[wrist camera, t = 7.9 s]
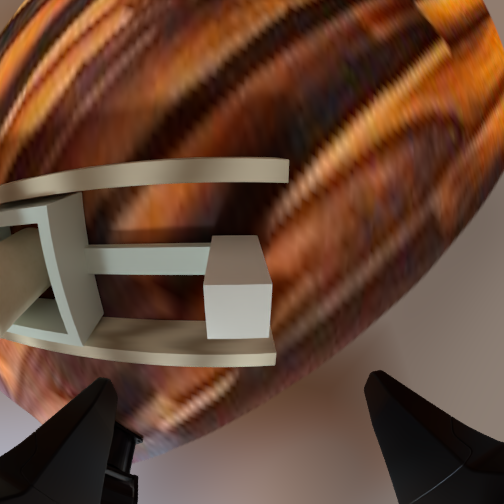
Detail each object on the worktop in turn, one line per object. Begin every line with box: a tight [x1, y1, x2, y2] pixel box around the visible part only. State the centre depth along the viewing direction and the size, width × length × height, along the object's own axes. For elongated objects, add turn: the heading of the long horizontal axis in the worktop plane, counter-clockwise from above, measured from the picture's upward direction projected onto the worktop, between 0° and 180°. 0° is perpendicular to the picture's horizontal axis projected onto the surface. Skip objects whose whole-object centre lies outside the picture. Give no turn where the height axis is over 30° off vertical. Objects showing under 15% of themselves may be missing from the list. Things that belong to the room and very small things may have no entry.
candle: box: [0, 227, 51, 338], centre depth 13 cm, size 6×6×10 cm
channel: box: [0, 157, 289, 367], centre depth 14 cm, size 36×13×9 cm, turn 89°
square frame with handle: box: [0, 192, 272, 347], centre depth 15 cm, size 22×10×7 cm, turn 89°
